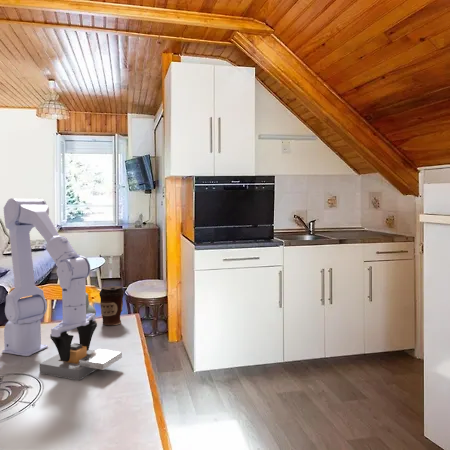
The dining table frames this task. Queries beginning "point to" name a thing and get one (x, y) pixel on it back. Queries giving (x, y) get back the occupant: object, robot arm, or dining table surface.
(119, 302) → the coffee cup
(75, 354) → the plug
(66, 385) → the dining table surface
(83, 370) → the socket plate
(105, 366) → the panel
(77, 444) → the dining table surface
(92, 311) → the air freshener
